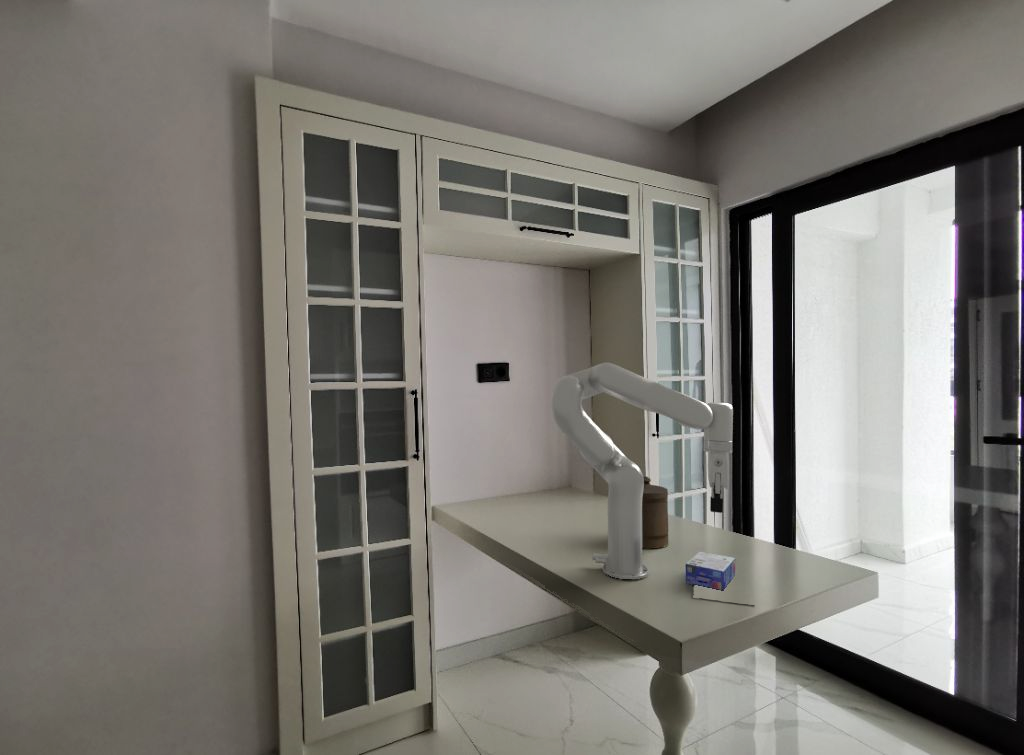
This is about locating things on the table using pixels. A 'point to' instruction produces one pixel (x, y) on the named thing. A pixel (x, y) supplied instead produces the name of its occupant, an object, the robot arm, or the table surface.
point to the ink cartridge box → (710, 570)
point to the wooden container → (654, 515)
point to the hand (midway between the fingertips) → (716, 511)
